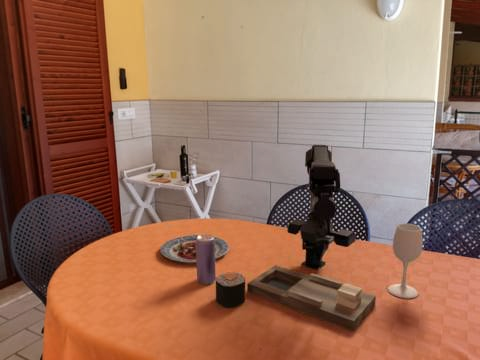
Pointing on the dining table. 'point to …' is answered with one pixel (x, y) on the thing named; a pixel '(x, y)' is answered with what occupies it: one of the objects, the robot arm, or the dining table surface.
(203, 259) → the beverage can
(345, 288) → the block
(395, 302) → the dining table surface
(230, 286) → the sushi
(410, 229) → the wineglass
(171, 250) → the ceramic plate
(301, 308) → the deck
